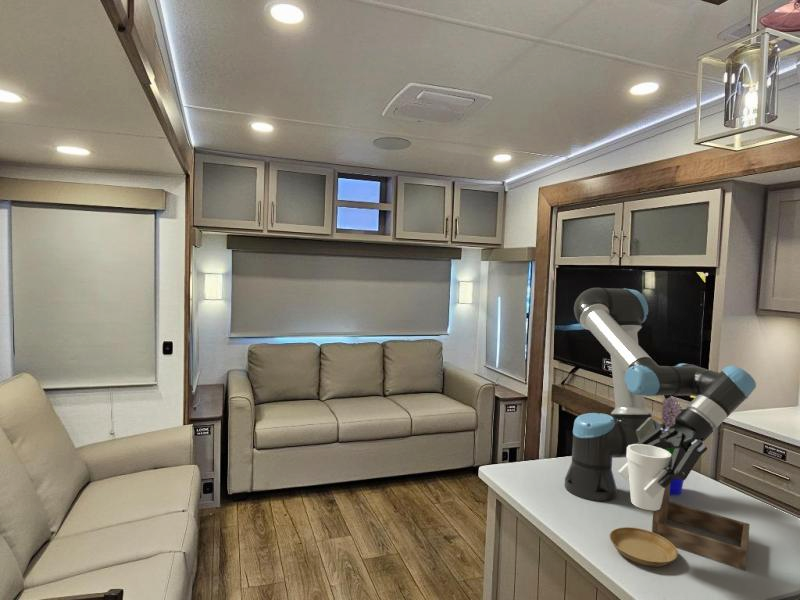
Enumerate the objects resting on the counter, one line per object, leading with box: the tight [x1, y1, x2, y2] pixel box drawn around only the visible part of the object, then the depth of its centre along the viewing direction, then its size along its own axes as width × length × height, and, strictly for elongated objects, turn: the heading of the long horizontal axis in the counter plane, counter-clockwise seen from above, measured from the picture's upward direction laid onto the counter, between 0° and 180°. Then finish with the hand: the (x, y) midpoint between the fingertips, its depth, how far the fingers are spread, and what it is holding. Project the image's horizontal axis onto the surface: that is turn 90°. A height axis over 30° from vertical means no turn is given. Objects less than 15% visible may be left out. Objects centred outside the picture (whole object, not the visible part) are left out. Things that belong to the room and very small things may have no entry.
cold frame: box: [636, 417, 750, 571], centre depth 122 cm, size 25×16×27 cm, turn 52°
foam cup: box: [625, 444, 672, 511], centre depth 113 cm, size 10×9×13 cm
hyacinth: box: [661, 396, 685, 496], centre depth 150 cm, size 9×10×30 cm
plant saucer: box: [609, 526, 679, 568], centre depth 115 cm, size 15×15×3 cm
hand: (634, 484), depth 113 cm, fingers closed on foam cup, 9 cm apart
